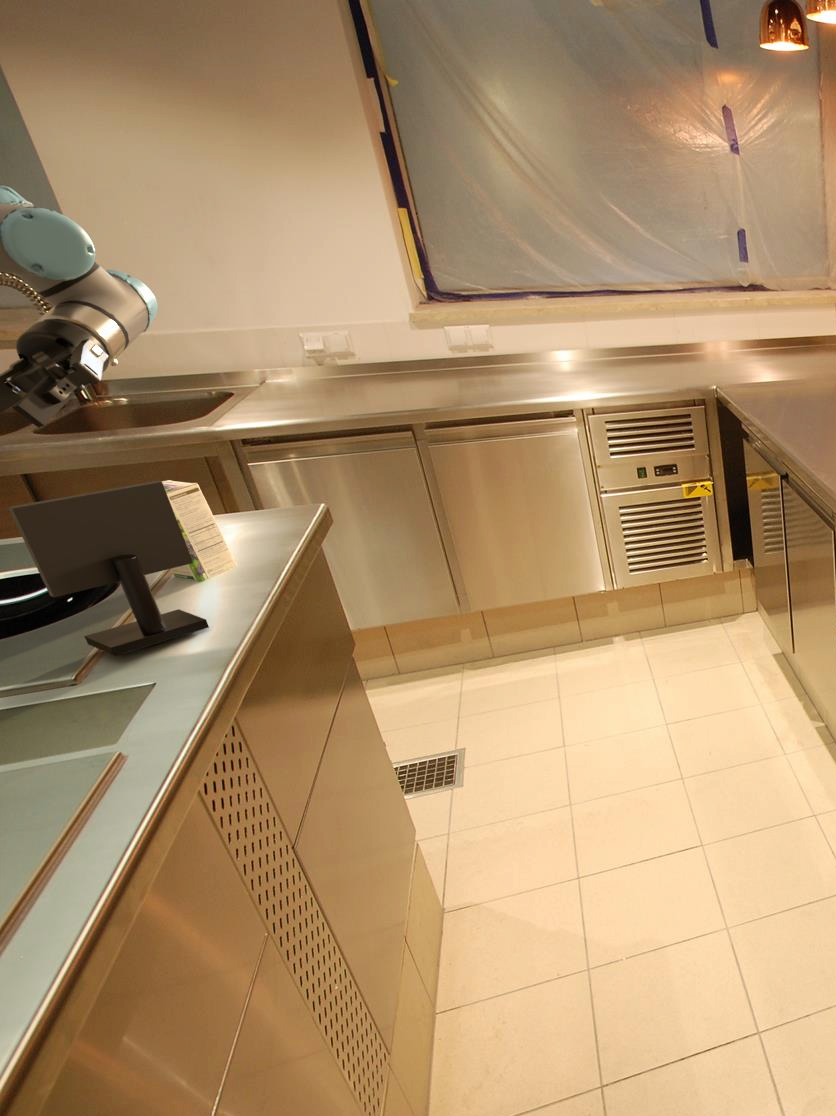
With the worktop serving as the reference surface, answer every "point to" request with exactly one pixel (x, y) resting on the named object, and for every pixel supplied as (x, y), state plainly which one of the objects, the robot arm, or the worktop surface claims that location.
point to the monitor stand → (142, 615)
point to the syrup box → (198, 533)
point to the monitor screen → (100, 535)
